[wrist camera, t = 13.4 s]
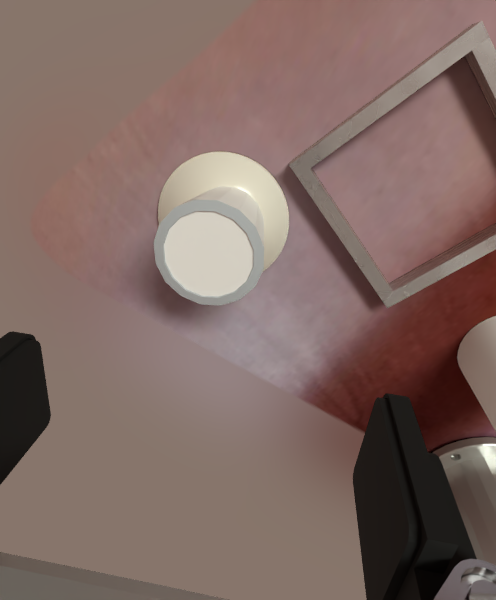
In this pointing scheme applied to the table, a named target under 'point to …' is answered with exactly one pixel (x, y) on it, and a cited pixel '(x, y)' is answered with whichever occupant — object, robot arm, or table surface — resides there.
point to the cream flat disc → (231, 173)
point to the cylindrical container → (481, 364)
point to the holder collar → (470, 43)
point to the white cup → (212, 246)
